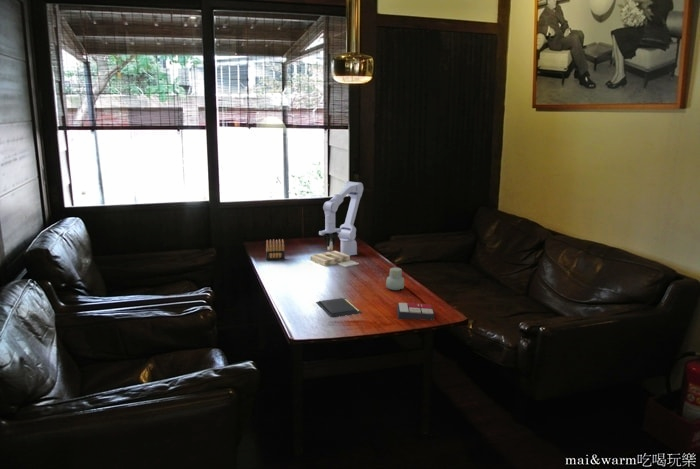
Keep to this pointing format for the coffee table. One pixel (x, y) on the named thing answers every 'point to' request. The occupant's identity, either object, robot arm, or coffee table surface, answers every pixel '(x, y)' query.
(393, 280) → the air freshener
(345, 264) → the mat
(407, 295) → the coffee table surface
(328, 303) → the dark grey flat slab
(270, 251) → the ammunition clip
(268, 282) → the coffee table surface
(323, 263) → the socket block
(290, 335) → the coffee table surface
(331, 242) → the metal cylinder
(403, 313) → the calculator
